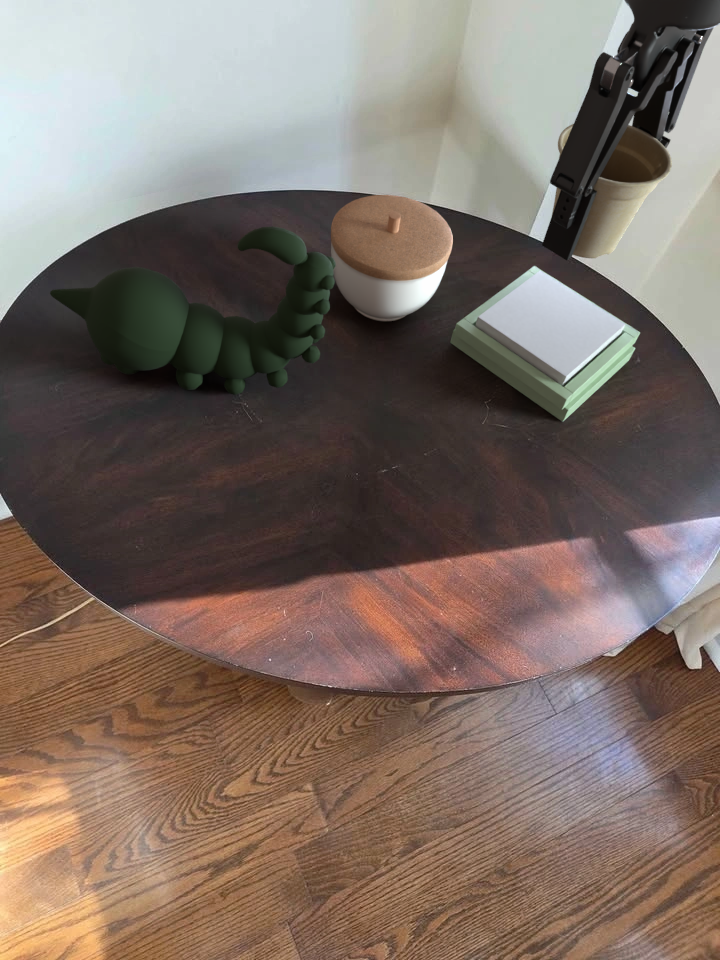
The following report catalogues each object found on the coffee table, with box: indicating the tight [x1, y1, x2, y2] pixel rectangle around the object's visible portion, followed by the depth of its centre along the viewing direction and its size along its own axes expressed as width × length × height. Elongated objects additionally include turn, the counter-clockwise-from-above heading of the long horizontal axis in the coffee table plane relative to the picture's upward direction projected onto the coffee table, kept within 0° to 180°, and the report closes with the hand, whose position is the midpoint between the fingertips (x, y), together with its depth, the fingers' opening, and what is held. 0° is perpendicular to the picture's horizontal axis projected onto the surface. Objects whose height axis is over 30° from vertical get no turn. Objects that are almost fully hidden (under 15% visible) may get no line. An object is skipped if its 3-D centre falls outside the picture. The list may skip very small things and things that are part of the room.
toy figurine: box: [49, 226, 336, 396], centre depth 71 cm, size 9×19×25 cm
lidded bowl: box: [330, 194, 454, 322], centre depth 83 cm, size 13×13×11 cm
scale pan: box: [475, 270, 625, 386], centre depth 82 cm, size 11×11×2 cm
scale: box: [450, 265, 641, 423], centre depth 83 cm, size 15×14×4 cm
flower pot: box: [551, 123, 673, 259], centre depth 67 cm, size 9×9×9 cm
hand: (585, 229), depth 70 cm, fingers closed on flower pot, 8 cm apart
